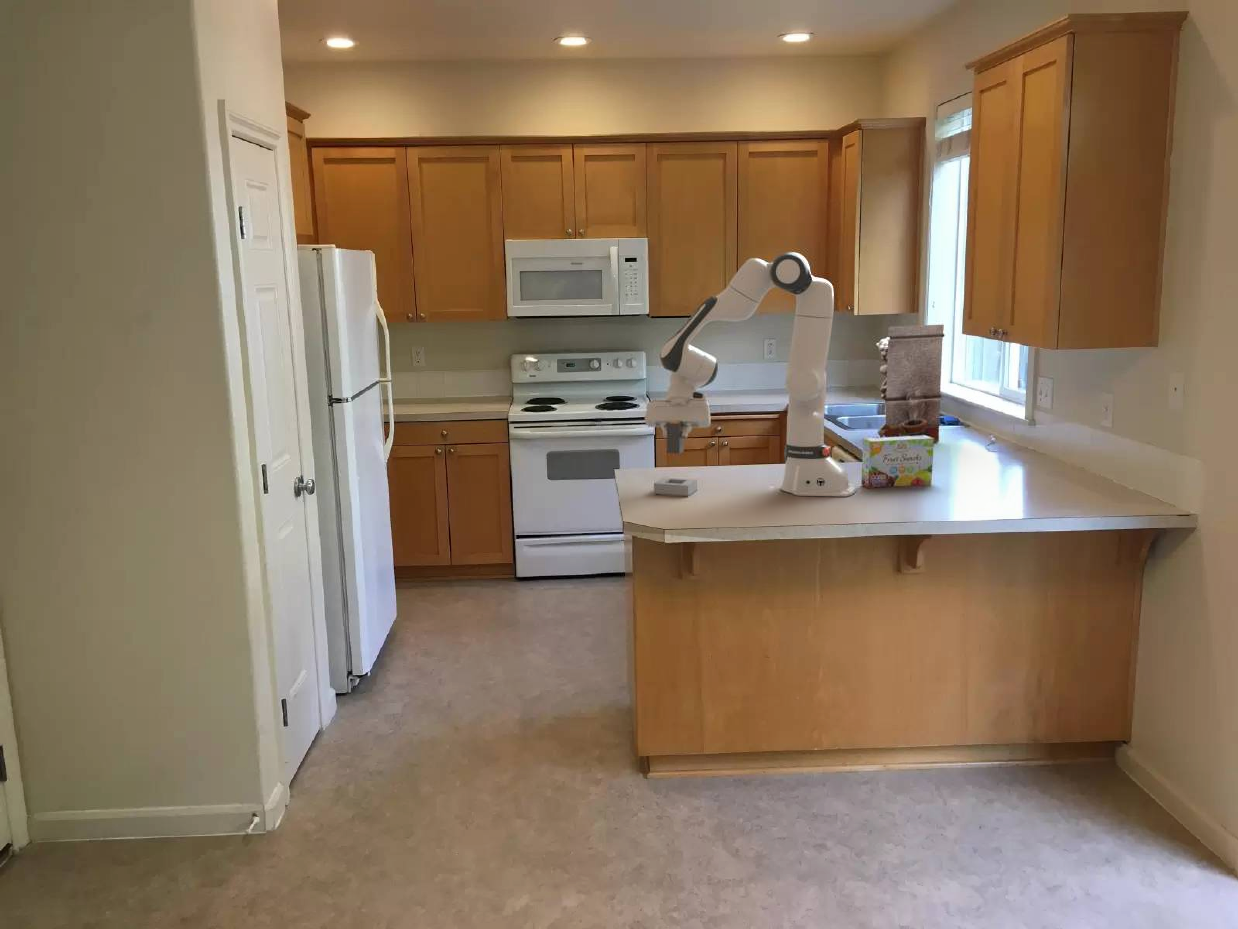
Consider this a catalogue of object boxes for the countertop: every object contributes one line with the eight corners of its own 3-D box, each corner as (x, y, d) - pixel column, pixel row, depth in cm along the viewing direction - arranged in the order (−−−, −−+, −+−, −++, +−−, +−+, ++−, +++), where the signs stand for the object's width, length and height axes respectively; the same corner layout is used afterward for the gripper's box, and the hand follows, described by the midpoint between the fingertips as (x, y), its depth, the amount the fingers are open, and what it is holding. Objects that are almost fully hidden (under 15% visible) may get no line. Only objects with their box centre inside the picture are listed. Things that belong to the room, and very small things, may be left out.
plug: (683, 451, 289) (683, 420, 287) (679, 453, 285) (679, 422, 283) (671, 450, 290) (671, 419, 289) (667, 452, 287) (666, 421, 285)
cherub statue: (912, 435, 379) (917, 322, 371) (939, 442, 362) (945, 324, 353) (861, 439, 374) (864, 324, 365) (886, 446, 356) (890, 326, 347)
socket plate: (697, 490, 292) (697, 479, 291) (688, 497, 284) (688, 485, 283) (663, 488, 296) (663, 477, 296) (653, 494, 288) (653, 483, 287)
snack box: (868, 489, 289) (870, 440, 286) (860, 485, 294) (862, 437, 291) (932, 484, 293) (934, 437, 290) (923, 481, 298) (925, 434, 295)
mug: (896, 469, 317) (898, 425, 314) (873, 463, 327) (874, 420, 324) (936, 463, 325) (938, 420, 322) (911, 457, 335) (913, 416, 332)
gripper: (646, 393, 294) (639, 429, 286) (711, 394, 289) (706, 431, 281) (649, 406, 299) (643, 441, 291) (713, 407, 294) (708, 443, 286)
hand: (674, 436), depth 286 cm, fingers closed on plug, 4 cm apart
